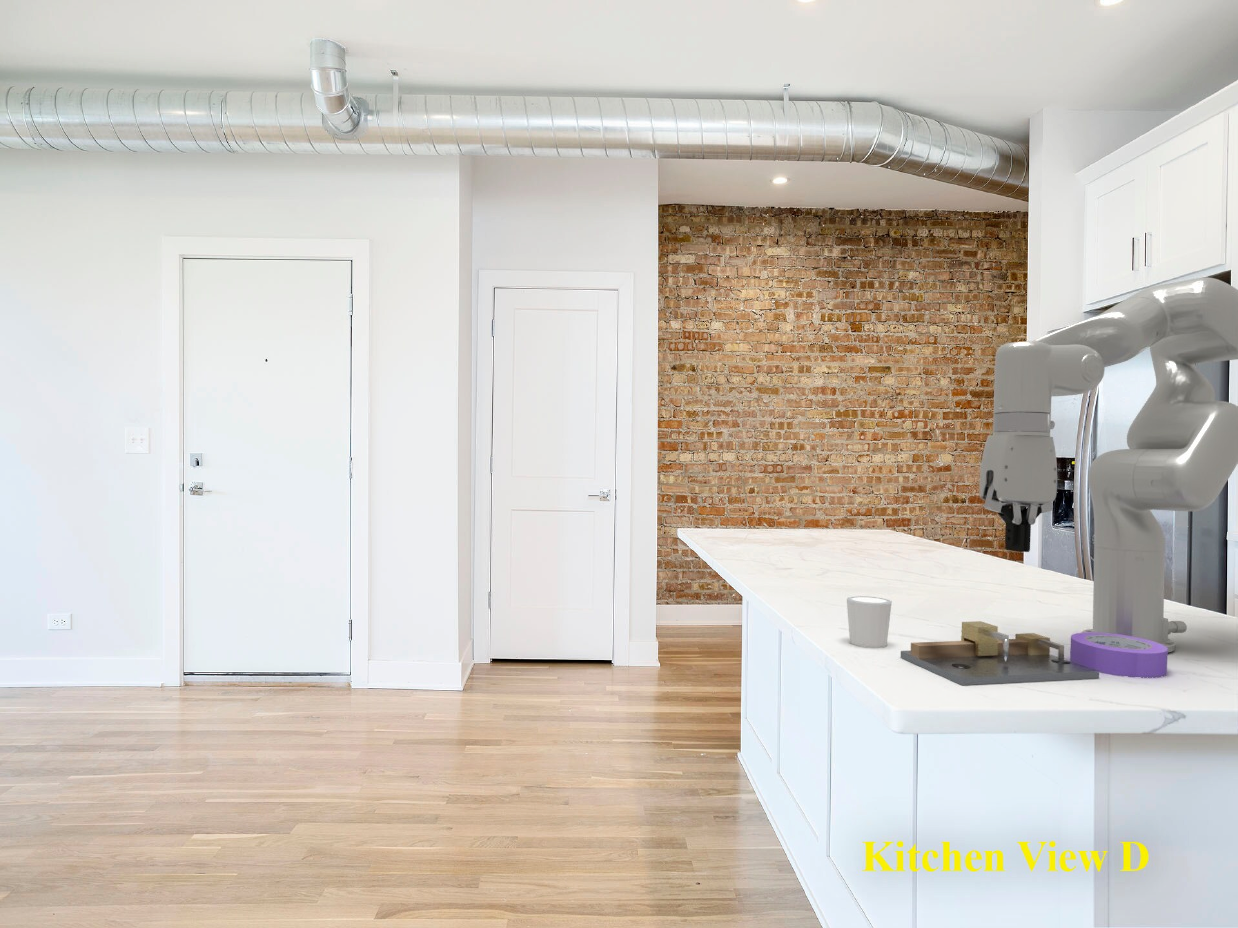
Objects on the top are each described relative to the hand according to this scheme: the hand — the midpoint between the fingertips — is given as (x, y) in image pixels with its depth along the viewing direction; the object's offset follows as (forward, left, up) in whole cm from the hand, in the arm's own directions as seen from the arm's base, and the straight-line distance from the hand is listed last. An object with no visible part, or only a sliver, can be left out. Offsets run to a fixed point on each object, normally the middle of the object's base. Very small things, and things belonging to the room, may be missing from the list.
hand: (1017, 550), depth 112 cm
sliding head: (+6, +2, -15) cm, 16 cm away
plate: (+6, +3, -16) cm, 17 cm away
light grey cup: (+17, -13, -16) cm, 26 cm away
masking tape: (-12, +5, -17) cm, 21 cm away
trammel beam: (+6, +2, -15) cm, 16 cm away
